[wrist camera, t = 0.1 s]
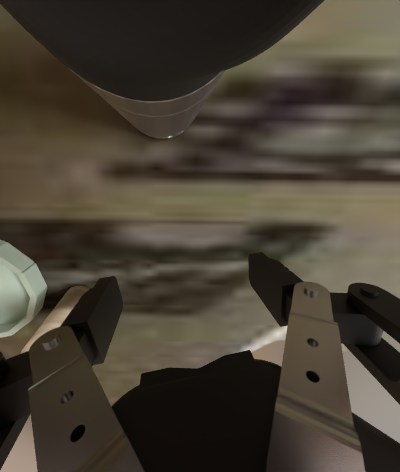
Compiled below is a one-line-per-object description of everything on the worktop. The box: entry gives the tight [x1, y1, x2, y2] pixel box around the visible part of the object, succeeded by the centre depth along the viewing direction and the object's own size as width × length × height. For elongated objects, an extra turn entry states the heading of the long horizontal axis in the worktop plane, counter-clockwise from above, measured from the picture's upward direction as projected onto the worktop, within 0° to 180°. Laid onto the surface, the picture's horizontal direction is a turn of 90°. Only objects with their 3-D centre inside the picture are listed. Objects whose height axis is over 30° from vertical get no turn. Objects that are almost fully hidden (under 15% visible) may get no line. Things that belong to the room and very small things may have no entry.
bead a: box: [21, 286, 90, 354], centre depth 26 cm, size 4×4×10 cm
